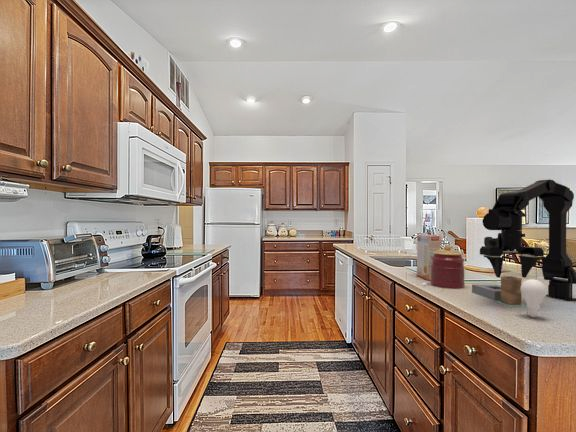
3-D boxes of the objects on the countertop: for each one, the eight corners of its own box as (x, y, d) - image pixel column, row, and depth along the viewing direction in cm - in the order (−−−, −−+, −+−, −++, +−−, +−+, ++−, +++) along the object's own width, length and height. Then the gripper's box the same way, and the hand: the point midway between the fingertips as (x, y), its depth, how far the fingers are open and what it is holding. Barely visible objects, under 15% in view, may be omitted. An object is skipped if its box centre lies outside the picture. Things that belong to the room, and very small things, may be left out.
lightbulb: (547, 321, 92) (548, 282, 92) (520, 318, 95) (521, 279, 95) (544, 316, 97) (545, 279, 97) (519, 313, 100) (519, 276, 100)
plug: (511, 301, 111) (511, 276, 111) (521, 305, 107) (522, 278, 107) (500, 301, 111) (500, 276, 111) (509, 305, 107) (510, 278, 107)
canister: (436, 289, 133) (436, 245, 133) (426, 283, 146) (426, 243, 146) (470, 290, 131) (470, 246, 131) (457, 284, 144) (457, 243, 144)
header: (496, 293, 127) (496, 284, 127) (521, 301, 115) (521, 291, 115) (471, 293, 126) (472, 284, 126) (494, 301, 114) (494, 291, 114)
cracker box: (441, 281, 151) (441, 235, 151) (427, 281, 151) (428, 235, 151) (428, 275, 165) (428, 234, 165) (416, 275, 165) (416, 233, 165)
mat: (512, 302, 113) (512, 300, 113) (529, 308, 106) (529, 306, 106) (493, 302, 112) (493, 300, 112) (509, 308, 105) (509, 306, 105)
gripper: (518, 229, 118) (517, 273, 118) (469, 229, 116) (468, 273, 116) (545, 231, 107) (544, 279, 107) (491, 230, 105) (491, 279, 105)
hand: (510, 277), depth 109 cm, fingers open, 9 cm apart
